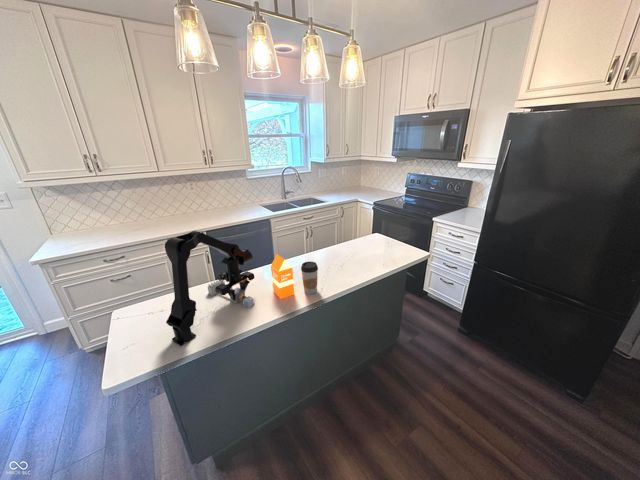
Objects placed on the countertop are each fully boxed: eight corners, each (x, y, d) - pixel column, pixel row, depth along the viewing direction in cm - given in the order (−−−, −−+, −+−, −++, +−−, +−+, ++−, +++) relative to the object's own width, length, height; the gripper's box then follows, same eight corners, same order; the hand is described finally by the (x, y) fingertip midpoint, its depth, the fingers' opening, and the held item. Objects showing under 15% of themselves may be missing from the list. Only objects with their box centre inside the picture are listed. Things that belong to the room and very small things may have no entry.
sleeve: (245, 297, 126) (244, 290, 124) (237, 302, 122) (235, 295, 120) (238, 294, 128) (237, 287, 127) (230, 299, 125) (229, 292, 123)
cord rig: (257, 301, 123) (256, 292, 122) (244, 310, 117) (243, 301, 116) (222, 286, 138) (220, 278, 137) (208, 293, 132) (207, 284, 130)
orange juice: (280, 299, 125) (276, 261, 118) (273, 291, 132) (269, 255, 125) (294, 293, 129) (292, 257, 122) (286, 286, 136) (283, 251, 129)
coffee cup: (304, 297, 126) (302, 269, 121) (300, 288, 134) (299, 262, 129) (320, 294, 128) (319, 266, 123) (316, 285, 136) (315, 260, 131)
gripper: (238, 258, 131) (242, 285, 136) (205, 272, 117) (211, 302, 122) (253, 262, 125) (257, 290, 130) (220, 279, 111) (225, 309, 116)
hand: (238, 297), depth 125 cm, fingers closed on sleeve, 5 cm apart
